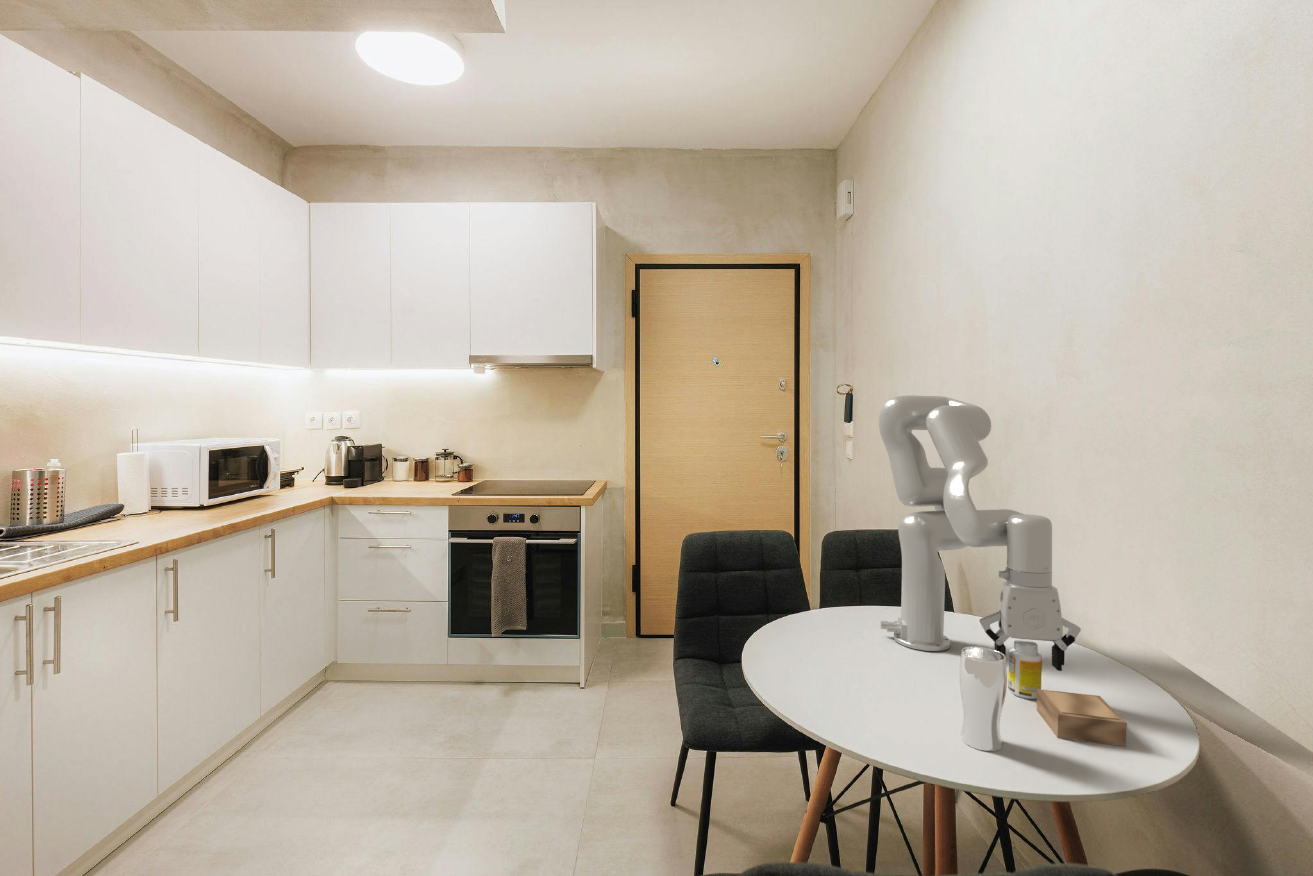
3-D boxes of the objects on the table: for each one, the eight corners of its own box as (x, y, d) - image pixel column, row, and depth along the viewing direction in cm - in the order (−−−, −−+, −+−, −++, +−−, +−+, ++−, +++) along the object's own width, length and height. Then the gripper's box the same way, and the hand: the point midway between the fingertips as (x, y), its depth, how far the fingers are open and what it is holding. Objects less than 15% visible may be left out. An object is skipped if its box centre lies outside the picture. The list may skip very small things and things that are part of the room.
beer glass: (949, 731, 105) (951, 646, 104) (987, 730, 105) (990, 645, 105) (973, 754, 98) (976, 662, 97) (1014, 752, 98) (1017, 661, 98)
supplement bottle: (1047, 697, 118) (1049, 645, 118) (1029, 702, 116) (1030, 649, 115) (1019, 685, 123) (1020, 635, 123) (1001, 690, 121) (1003, 640, 120)
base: (1057, 737, 103) (1058, 713, 103) (1036, 710, 113) (1037, 688, 112) (1125, 746, 100) (1126, 721, 100) (1098, 717, 110) (1099, 695, 110)
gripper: (985, 580, 117) (985, 668, 117) (1088, 585, 112) (1087, 678, 112) (975, 571, 124) (975, 655, 124) (1071, 576, 120) (1071, 663, 120)
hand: (1028, 665), depth 118 cm, fingers open, 9 cm apart
